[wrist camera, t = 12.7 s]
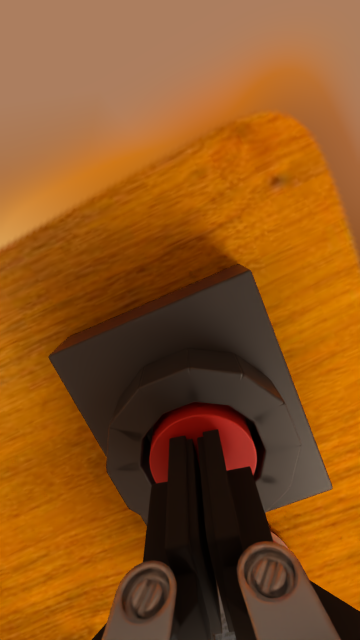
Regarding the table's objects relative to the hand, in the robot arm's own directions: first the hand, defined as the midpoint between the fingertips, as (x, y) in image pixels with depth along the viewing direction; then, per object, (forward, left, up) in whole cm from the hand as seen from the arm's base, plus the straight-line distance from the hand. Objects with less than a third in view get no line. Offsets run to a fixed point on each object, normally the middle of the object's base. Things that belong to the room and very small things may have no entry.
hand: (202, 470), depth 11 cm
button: (0, 0, -2) cm, 2 cm away
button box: (0, 0, -4) cm, 4 cm away
